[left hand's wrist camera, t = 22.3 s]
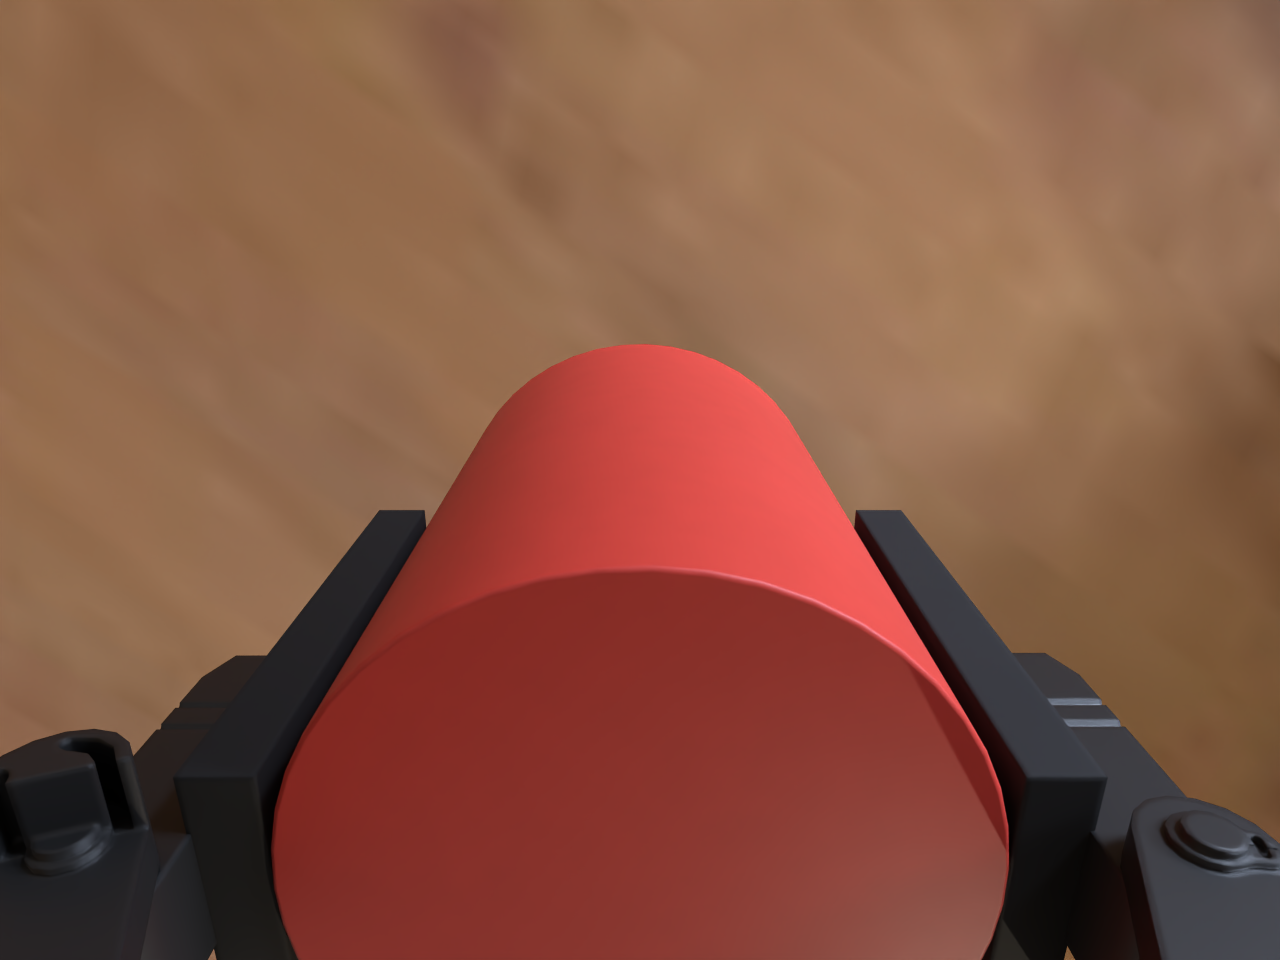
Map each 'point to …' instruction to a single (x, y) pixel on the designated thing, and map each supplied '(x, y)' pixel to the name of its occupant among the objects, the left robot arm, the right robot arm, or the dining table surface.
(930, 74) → the dining table surface
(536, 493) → the can
